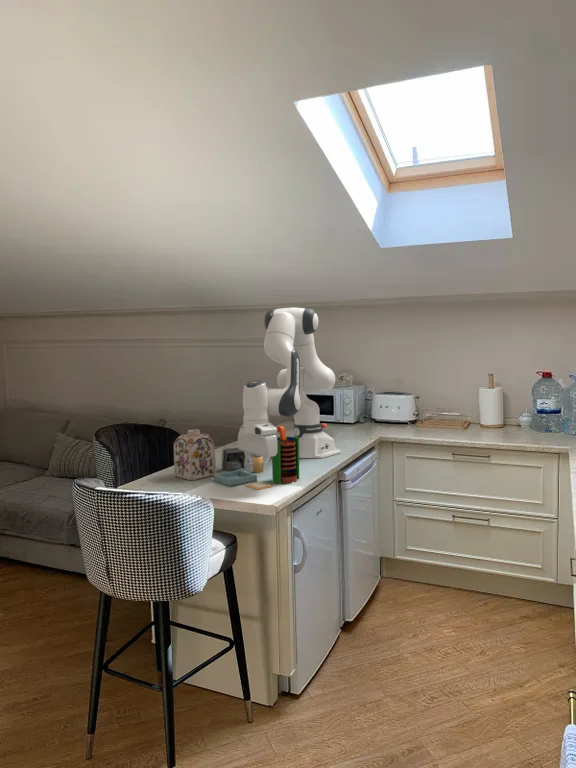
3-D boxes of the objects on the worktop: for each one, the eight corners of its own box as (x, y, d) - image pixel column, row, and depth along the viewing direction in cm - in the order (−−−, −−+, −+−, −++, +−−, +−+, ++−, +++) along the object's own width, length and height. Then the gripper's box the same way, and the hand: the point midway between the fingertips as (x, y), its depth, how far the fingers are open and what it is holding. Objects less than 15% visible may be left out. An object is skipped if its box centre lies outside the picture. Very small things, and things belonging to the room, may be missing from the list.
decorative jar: (216, 475, 230) (214, 429, 228) (191, 481, 222) (189, 433, 221) (198, 471, 239) (196, 426, 237) (173, 476, 231) (171, 430, 229)
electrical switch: (243, 466, 245) (242, 444, 244) (247, 470, 241) (247, 447, 239) (221, 469, 242) (220, 447, 240) (225, 472, 237) (224, 450, 235)
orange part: (259, 470, 237) (259, 453, 237) (265, 471, 234) (264, 455, 234) (251, 471, 235) (250, 455, 235) (256, 473, 232) (256, 456, 231)
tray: (240, 476, 228) (239, 469, 228) (257, 481, 219) (256, 474, 219) (213, 481, 221) (213, 474, 221) (230, 487, 212) (229, 480, 212)
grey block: (235, 473, 233) (235, 460, 233) (241, 475, 230) (240, 462, 230) (226, 475, 231) (226, 462, 230) (232, 476, 228) (231, 464, 227)
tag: (258, 482, 217) (258, 481, 217) (271, 487, 210) (271, 485, 210) (244, 485, 213) (244, 484, 213) (257, 490, 207) (257, 488, 207)
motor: (287, 485, 212) (285, 429, 211) (267, 482, 217) (265, 428, 216) (302, 479, 221) (301, 425, 219) (283, 476, 226) (281, 424, 224)
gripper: (232, 425, 216) (234, 462, 217) (265, 431, 200) (266, 471, 201) (247, 423, 220) (248, 460, 221) (280, 429, 204) (281, 469, 205)
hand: (257, 465), depth 211 cm, fingers open, 8 cm apart
